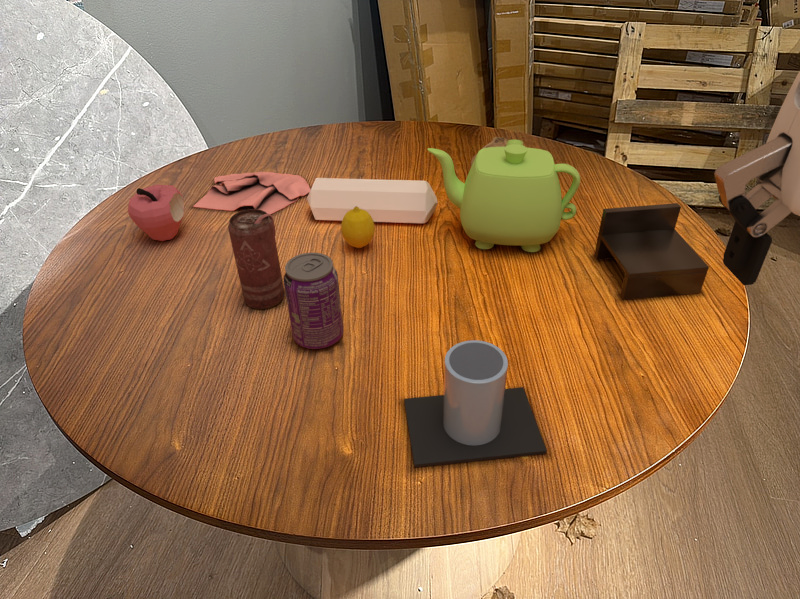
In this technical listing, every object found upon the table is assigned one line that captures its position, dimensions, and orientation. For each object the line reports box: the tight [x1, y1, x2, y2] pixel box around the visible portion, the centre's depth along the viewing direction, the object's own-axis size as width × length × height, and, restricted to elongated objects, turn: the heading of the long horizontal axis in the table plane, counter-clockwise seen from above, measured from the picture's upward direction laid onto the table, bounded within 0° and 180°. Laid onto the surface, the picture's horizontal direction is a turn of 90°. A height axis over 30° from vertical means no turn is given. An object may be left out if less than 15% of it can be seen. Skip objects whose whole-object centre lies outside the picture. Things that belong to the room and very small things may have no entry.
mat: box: [403, 386, 548, 469], centre depth 73 cm, size 15×10×1 cm, turn 96°
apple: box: [127, 183, 185, 242], centre depth 106 cm, size 10×9×10 cm
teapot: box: [427, 139, 581, 253], centre depth 105 cm, size 25×22×16 cm
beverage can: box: [282, 252, 344, 350], centre depth 83 cm, size 7×7×12 cm
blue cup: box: [443, 339, 509, 446], centre depth 70 cm, size 7×7×10 cm
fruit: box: [340, 206, 376, 249], centre depth 102 cm, size 6×6×8 cm
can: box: [227, 209, 286, 310], centre depth 90 cm, size 6×6×14 cm
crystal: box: [306, 177, 439, 224], centre depth 112 cm, size 7×7×24 cm
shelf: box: [593, 202, 710, 301], centre depth 94 cm, size 12×12×9 cm
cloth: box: [192, 171, 311, 215], centre depth 121 cm, size 20×22×2 cm
